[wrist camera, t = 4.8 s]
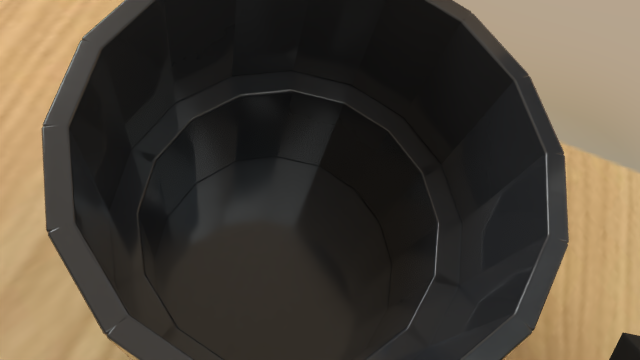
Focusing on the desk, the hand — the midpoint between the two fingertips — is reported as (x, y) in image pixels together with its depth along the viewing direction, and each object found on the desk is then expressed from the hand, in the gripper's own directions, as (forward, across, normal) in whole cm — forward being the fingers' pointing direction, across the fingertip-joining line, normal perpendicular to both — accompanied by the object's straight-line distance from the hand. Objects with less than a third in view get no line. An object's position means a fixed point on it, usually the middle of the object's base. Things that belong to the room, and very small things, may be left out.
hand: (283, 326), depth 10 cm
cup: (+9, 0, -4) cm, 10 cm away
